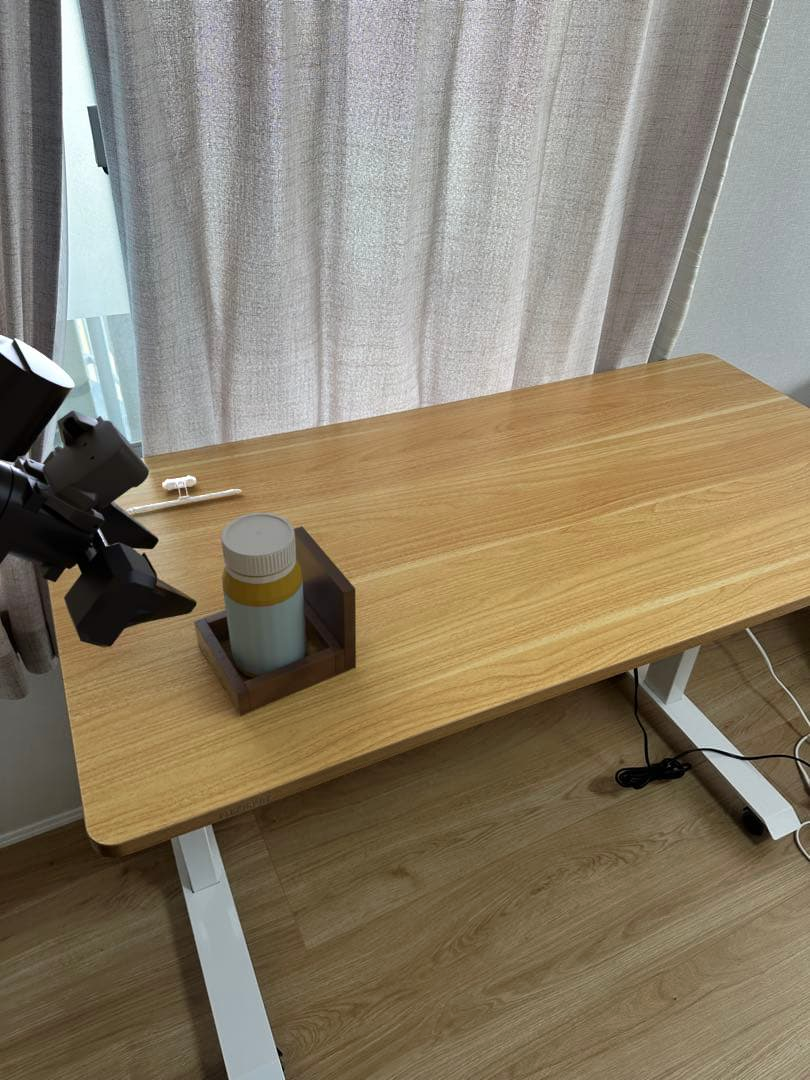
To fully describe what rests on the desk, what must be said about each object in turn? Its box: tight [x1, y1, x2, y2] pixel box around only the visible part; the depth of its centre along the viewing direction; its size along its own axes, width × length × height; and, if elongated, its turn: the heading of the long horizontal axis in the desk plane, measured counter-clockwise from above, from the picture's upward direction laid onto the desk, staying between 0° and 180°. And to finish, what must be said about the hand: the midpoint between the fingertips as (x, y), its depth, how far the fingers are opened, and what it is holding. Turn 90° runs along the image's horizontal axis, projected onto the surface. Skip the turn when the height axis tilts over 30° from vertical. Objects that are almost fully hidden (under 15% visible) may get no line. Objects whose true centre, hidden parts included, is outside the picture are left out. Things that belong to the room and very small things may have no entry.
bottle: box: [220, 512, 307, 679], centre depth 73 cm, size 7×7×15 cm
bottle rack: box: [193, 525, 357, 717], centre depth 75 cm, size 12×11×10 cm
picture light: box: [125, 474, 243, 515], centre depth 98 cm, size 14×4×2 cm, turn 112°
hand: (173, 574), depth 66 cm, fingers open, 9 cm apart
